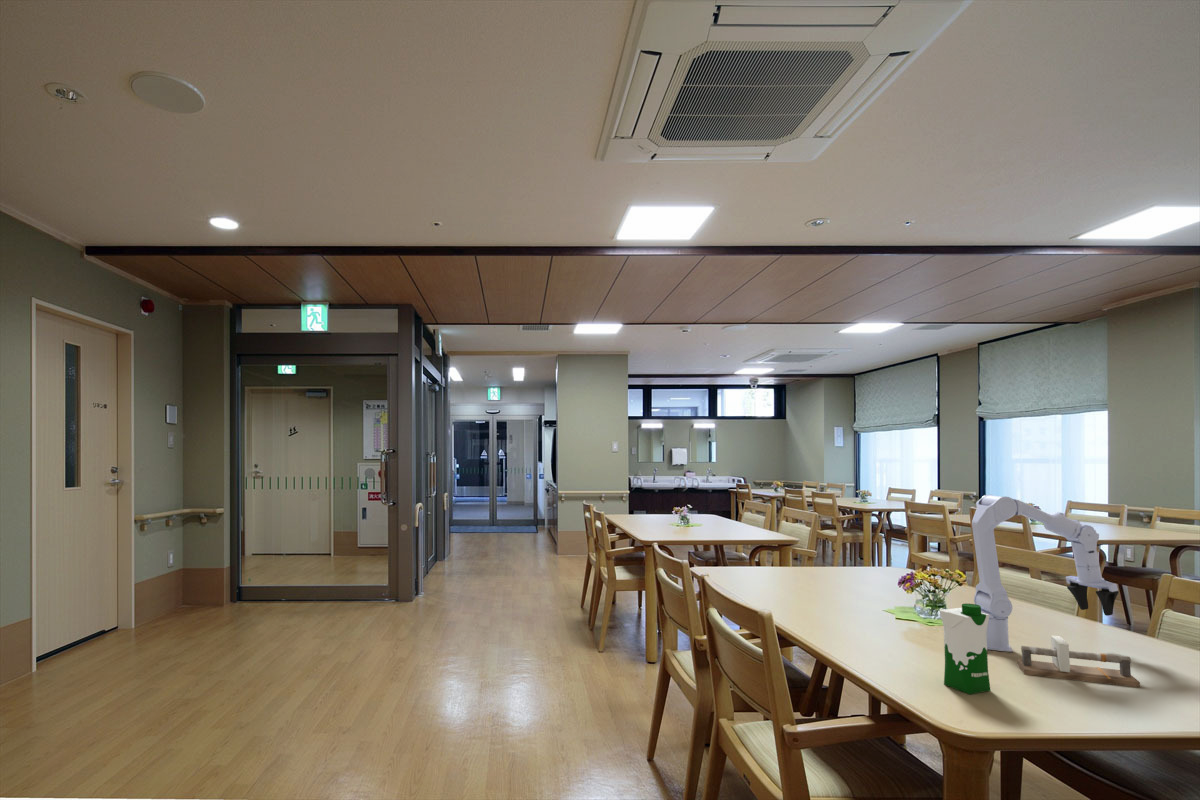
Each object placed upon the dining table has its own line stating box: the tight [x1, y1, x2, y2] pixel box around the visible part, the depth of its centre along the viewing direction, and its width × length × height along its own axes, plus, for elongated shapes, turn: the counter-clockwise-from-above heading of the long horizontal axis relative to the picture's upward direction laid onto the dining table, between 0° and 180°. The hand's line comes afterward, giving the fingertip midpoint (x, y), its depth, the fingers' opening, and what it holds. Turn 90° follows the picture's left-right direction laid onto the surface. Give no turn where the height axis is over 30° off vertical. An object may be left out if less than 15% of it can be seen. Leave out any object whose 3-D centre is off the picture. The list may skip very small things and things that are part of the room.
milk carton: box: [939, 603, 991, 695], centre depth 158 cm, size 9×9×20 cm
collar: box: [1050, 635, 1071, 672], centre depth 168 cm, size 2×8×7 cm, turn 158°
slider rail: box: [1016, 645, 1141, 688], centre depth 166 cm, size 24×9×6 cm, turn 67°
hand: (1096, 612), depth 189 cm, fingers open, 7 cm apart
